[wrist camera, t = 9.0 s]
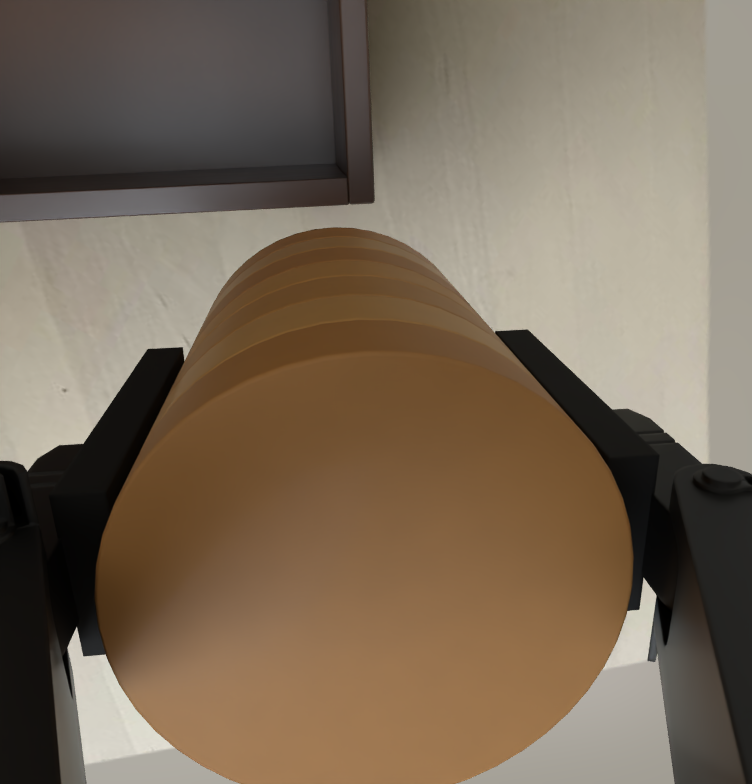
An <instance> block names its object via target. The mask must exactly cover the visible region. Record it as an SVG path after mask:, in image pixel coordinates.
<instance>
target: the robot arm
mask: <svg viewBox="0 0 752 784" xmlns="http://www.w3.org/2000/svg"><path fill="white" fill-rule="evenodd" d="M495 334H496V335H497V336H498V337H499V338H500V339H501V341H502V342H503V343H504V344H505V345H506V346H507V347H508V348H509V350H510V351H511V352H512V353H513V354H514V355H515V356H516V357H517V359H518V360H519V361H520V362H521V363H522V364H523V365H524V367H525V368H526V369H527V370H528V371H529V372H530V373H531V374H532V376H533V377H534V378H535V379H536V380H537V381H538V382H539V383H540V385H541V386H542V387H543V388H544V389H545V390H546V391H547V392H548V394H549V395H550V396H551V397H552V398H553V399H554V400H555V401H556V403H557V404H558V405H559V406H560V407H561V408H562V409H563V411H564V412H565V413H566V414H567V415H568V416H569V417H570V418H571V420H572V421H573V422H574V423H575V424H576V425H577V426H578V427H579V429H580V430H581V431H582V432H583V433H584V434H585V435H586V436H587V438H588V439H589V440H590V441H591V442H592V443H593V444H594V446H595V447H596V449H597V451H598V452H599V454H600V455H601V457H602V458H603V460H604V461H605V463H606V464H607V466H608V467H609V469H610V470H611V473H612V475H613V477H614V479H615V482H616V484H617V486H618V488H619V491H620V493H621V495H622V497H623V501H624V504H625V508H626V512H627V516H628V519H629V523H630V527H631V536H632V546H633V556H634V559H633V579H632V590H631V595H630V600H629V604H628V609H627V611H630V610H639V608H640V600H641V592H642V585H643V577H644V579H645V580H646V581H647V583H648V584H649V585H650V587H651V588H652V589H653V591H654V592H655V593H656V595H657V597H656V604H655V611H654V618H653V626H652V633H651V640H650V647H649V654H648V661H652V662H655V660H656V657H657V654H658V661H659V669H660V676H661V683H662V691H663V699H664V706H665V714H666V721H667V728H668V736H669V744H670V751H671V759H672V766H673V774H674V781H675V784H752V474H750V473H748V472H745V471H742V470H739V469H736V468H733V467H728V466H722V465H716V464H702V463H701V462H699V461H698V460H697V459H696V458H695V457H694V456H692V455H691V454H690V453H689V452H688V451H687V450H686V449H684V448H683V447H682V446H681V445H680V444H679V443H675V440H674V439H673V438H672V437H671V436H670V435H668V434H667V433H664V430H663V429H661V428H660V427H659V426H658V425H657V424H656V423H655V422H653V421H652V420H651V419H650V418H648V417H645V416H643V415H641V414H639V413H636V412H634V411H632V410H629V409H615V410H612V409H611V408H610V407H609V406H608V405H607V404H606V403H604V402H603V401H602V400H601V399H600V398H599V397H598V396H597V395H596V394H595V393H594V392H593V391H592V390H591V389H590V388H589V387H588V386H587V385H586V384H584V383H583V382H582V381H581V380H580V379H579V378H578V377H577V376H576V375H575V374H574V373H573V372H572V371H571V370H570V369H569V368H568V367H567V366H565V365H564V364H563V363H562V362H561V361H560V360H559V359H558V358H557V357H556V356H555V355H554V354H553V353H552V352H551V351H550V350H549V349H548V348H547V347H545V346H544V345H543V344H542V343H541V342H540V341H539V340H538V339H537V338H536V337H535V336H534V335H533V334H532V333H531V332H530V331H529V330H510V331H495ZM183 364H184V354H183V347H179V348H160V349H148V350H147V351H146V352H145V354H144V355H143V357H142V358H141V360H140V361H139V363H138V364H137V366H136V367H135V369H134V370H133V372H132V373H131V375H130V376H129V378H128V379H127V380H126V382H125V383H124V385H123V386H122V388H121V389H120V391H119V392H118V394H117V395H116V397H115V398H114V400H113V401H112V403H111V404H110V406H109V407H108V408H107V410H106V411H105V413H104V414H103V416H102V417H101V419H100V420H99V422H98V423H97V425H96V426H95V428H94V429H93V431H92V432H91V434H90V435H89V436H88V438H87V439H86V441H85V442H84V444H75V445H59V446H57V447H56V448H54V449H53V450H51V451H49V452H48V453H46V454H44V455H43V456H41V457H40V458H38V459H37V460H36V461H35V463H34V464H33V465H32V466H31V468H30V469H29V470H28V472H27V470H26V469H25V467H24V466H23V465H21V464H18V463H15V462H12V461H0V784H86V776H85V768H84V760H83V752H82V744H81V735H80V727H79V719H78V711H77V703H76V695H75V687H74V679H73V671H72V666H71V662H70V658H69V653H68V649H67V647H68V645H69V642H70V640H71V638H72V636H73V634H74V631H75V629H76V627H77V629H78V633H79V638H80V642H81V647H82V652H83V656H93V655H105V654H106V653H105V650H104V646H103V643H102V639H101V636H100V632H99V629H98V622H97V614H96V605H95V575H96V563H97V558H98V554H99V549H100V544H101V539H102V535H103V532H104V529H105V527H106V524H107V522H108V519H109V516H110V514H111V511H112V509H113V506H114V503H115V501H116V499H117V497H118V495H119V493H120V491H121V489H122V487H123V485H124V483H125V481H126V479H127V477H128V475H129V473H130V471H131V469H132V467H133V465H134V463H135V461H136V459H137V457H138V455H139V453H140V451H141V449H142V447H143V445H144V443H145V441H146V439H147V437H148V435H149V433H150V431H151V429H152V427H153V424H154V422H155V420H156V418H157V416H158V415H159V412H160V410H161V408H162V406H163V404H164V402H165V400H166V398H167V396H168V394H169V392H170V390H171V388H172V386H173V384H174V382H175V380H176V378H177V376H178V374H179V372H180V370H181V368H182V366H183Z"/></svg>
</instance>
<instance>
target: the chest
mask: <svg viewBox="0 0 752 784" xmlns="http://www.w3.org/2000/svg"><path fill="white" fill-rule="evenodd" d="M374 201H375V196H374V169H373V142H372V116H371V89H370V62H369V36H368V9H367V0H0V222H20V221H39V220H59V219H79V218H98V217H118V216H138V215H157V214H177V213H197V212H216V211H236V210H256V209H275V208H295V207H315V206H334V205H348V204H370V203H374Z"/></svg>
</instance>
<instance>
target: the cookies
mask: <svg viewBox="0 0 752 784" xmlns="http://www.w3.org/2000/svg"><path fill="white" fill-rule="evenodd" d="M633 559H634V556H633V546H632V536H631V527H630V523H629V519H628V516H627V512H626V508H625V504H624V501H623V497H622V495H621V493H620V491H619V488H618V486H617V484H616V482H615V479H614V477H613V475H612V473H611V470H610V469H609V467H608V466H607V464H606V463H605V461H604V460H603V458H602V457H601V455H600V454H599V452H598V451H597V449H596V447H595V446H594V444H593V443H592V442H591V441H590V440H589V439H588V438H587V436H586V435H585V434H584V433H583V432H582V431H581V430H580V429H579V427H578V426H577V425H576V424H575V423H574V422H573V421H572V420H571V418H570V417H569V416H568V415H567V414H566V413H565V412H564V411H563V409H562V408H561V407H560V406H559V405H558V404H557V403H556V401H555V400H554V399H553V398H552V397H551V396H550V395H549V394H548V392H547V391H546V390H545V389H544V388H543V387H542V386H541V385H540V383H539V382H538V381H537V380H536V379H535V378H534V377H533V376H532V374H531V373H530V372H529V371H528V370H527V369H526V368H525V367H524V365H523V364H522V363H521V362H520V361H519V360H518V359H517V357H516V356H515V355H514V354H513V353H512V352H511V351H510V350H509V348H508V347H507V346H506V345H505V344H504V343H503V342H502V341H501V339H500V338H499V337H498V336H497V335H496V334H495V333H494V332H493V330H492V329H491V328H490V327H489V326H488V325H487V324H486V323H485V321H484V320H483V319H482V318H481V317H480V316H479V315H478V313H477V312H476V311H475V310H474V309H473V308H472V307H471V306H470V304H469V303H468V302H467V301H466V300H465V299H464V298H463V297H462V295H461V294H460V293H459V292H458V291H457V290H456V289H455V288H454V286H453V285H452V284H451V283H450V282H449V281H448V280H447V279H446V277H445V276H444V275H443V274H442V273H441V272H440V271H439V270H438V269H437V267H436V266H435V265H434V264H432V263H431V262H430V261H429V260H428V259H426V258H425V257H424V256H423V255H422V254H420V253H419V252H417V251H416V250H414V249H412V248H411V247H409V246H408V245H406V244H404V243H402V242H400V241H397V240H395V239H393V238H391V237H389V236H385V235H382V234H379V233H376V232H372V231H367V230H361V229H355V228H323V229H314V230H310V231H306V232H302V233H298V234H294V235H292V236H289V237H286V238H284V239H281V240H279V241H277V242H275V243H273V244H271V245H269V246H268V247H266V248H264V249H262V250H261V251H259V252H258V253H256V254H255V255H254V256H252V257H251V258H250V259H248V260H247V261H246V262H245V263H244V264H243V265H242V266H241V267H240V268H239V269H238V270H237V271H236V272H235V273H234V274H233V275H232V276H231V277H230V279H229V280H228V281H227V283H226V284H225V285H224V286H223V288H222V289H221V291H220V293H219V294H218V296H217V298H216V300H215V301H214V303H213V305H212V307H211V309H210V311H209V313H208V315H207V317H206V319H205V321H204V323H203V325H202V327H201V329H200V331H199V333H198V335H197V337H196V339H195V341H194V343H193V346H192V348H191V350H190V352H189V354H188V356H187V358H186V360H185V362H184V364H183V366H182V368H181V370H180V372H179V374H178V376H177V378H176V380H175V382H174V384H173V386H172V388H171V390H170V392H169V394H168V396H167V398H166V400H165V402H164V404H163V406H162V408H161V410H160V412H159V415H158V416H157V418H156V420H155V422H154V424H153V427H152V429H151V431H150V433H149V435H148V437H147V439H146V441H145V443H144V445H143V447H142V449H141V451H140V453H139V455H138V457H137V459H136V461H135V463H134V465H133V467H132V469H131V471H130V473H129V475H128V477H127V479H126V481H125V483H124V485H123V487H122V489H121V491H120V493H119V495H118V497H117V499H116V501H115V503H114V506H113V509H112V511H111V514H110V516H109V519H108V522H107V524H106V527H105V529H104V532H103V535H102V539H101V544H100V549H99V554H98V558H97V563H96V575H95V605H96V614H97V622H98V629H99V632H100V636H101V639H102V643H103V646H104V650H105V653H106V656H107V659H108V661H109V663H110V666H111V668H112V670H113V672H114V674H115V676H116V678H117V681H118V683H119V685H120V686H121V688H122V689H123V691H124V692H125V694H126V695H127V697H128V698H129V700H130V701H131V703H132V704H133V706H134V707H135V709H136V710H137V711H138V712H139V713H140V714H141V715H142V717H143V718H144V719H145V720H146V721H147V722H148V723H149V724H150V726H151V727H152V728H153V729H154V730H155V731H156V732H157V733H158V734H160V735H161V736H162V737H163V738H164V739H165V740H167V741H168V742H169V743H170V744H171V745H172V746H174V747H175V748H176V749H177V750H179V751H180V752H182V753H183V754H185V755H186V756H188V757H189V758H191V759H192V760H194V761H195V762H197V763H198V764H200V765H202V766H203V767H205V768H207V769H210V770H212V771H213V772H215V773H217V774H219V775H221V776H223V777H225V778H228V779H229V780H232V781H235V782H238V783H240V784H456V783H459V782H461V781H465V780H467V779H470V778H472V777H474V776H476V775H478V774H481V773H483V772H485V771H487V770H489V769H491V768H494V767H495V766H498V765H499V764H501V763H502V762H504V761H506V760H508V759H509V758H511V757H513V756H514V755H516V754H518V753H519V752H521V751H523V750H524V749H525V748H527V747H528V746H529V745H531V744H532V743H534V742H535V741H536V740H538V739H539V738H540V737H542V736H543V735H545V734H546V733H547V732H548V731H549V730H550V729H551V728H553V727H554V725H556V724H557V723H558V722H559V721H560V720H561V719H562V718H563V717H565V716H566V715H567V714H568V713H569V712H570V711H571V709H572V708H573V707H574V706H575V705H576V704H577V702H578V701H579V700H580V699H581V698H582V697H583V696H584V694H585V693H586V692H587V691H588V689H589V688H590V686H591V685H592V683H593V682H594V681H595V679H596V678H597V676H598V675H599V673H600V672H601V670H602V669H603V668H604V666H605V664H606V662H607V660H608V658H609V656H610V654H611V652H612V650H613V648H614V646H615V644H616V642H617V640H618V637H619V634H620V631H621V629H622V626H623V623H624V620H625V617H626V614H627V609H628V604H629V600H630V595H631V590H632V579H633Z"/></svg>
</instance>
